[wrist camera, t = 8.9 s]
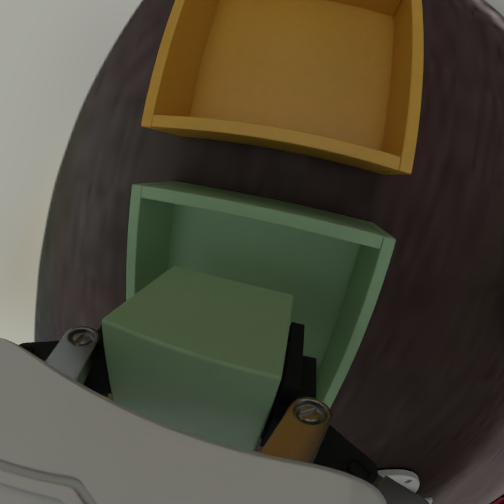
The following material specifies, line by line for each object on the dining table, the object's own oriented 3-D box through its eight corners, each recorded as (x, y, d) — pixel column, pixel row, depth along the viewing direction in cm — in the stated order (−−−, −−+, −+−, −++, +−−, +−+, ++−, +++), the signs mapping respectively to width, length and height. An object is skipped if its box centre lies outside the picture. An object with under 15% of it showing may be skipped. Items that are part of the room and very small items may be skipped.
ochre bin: (400, 17, 11) (419, -19, 7) (384, 175, 14) (411, 174, 10) (216, -9, 13) (193, -44, 9) (179, 136, 16) (140, 126, 12)
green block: (294, 294, 11) (282, 378, 6) (267, 386, 12) (246, 472, 8) (174, 264, 12) (99, 319, 7) (168, 357, 13) (118, 426, 8)
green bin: (374, 222, 15) (396, 239, 11) (321, 378, 18) (321, 424, 14) (172, 180, 17) (131, 183, 13) (160, 334, 20) (129, 368, 16)
